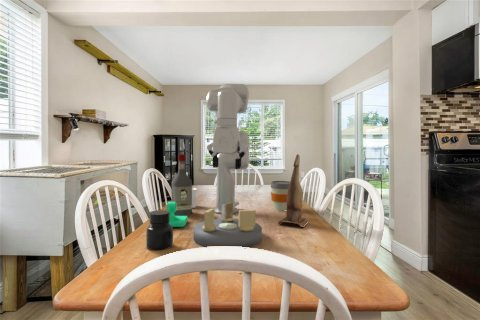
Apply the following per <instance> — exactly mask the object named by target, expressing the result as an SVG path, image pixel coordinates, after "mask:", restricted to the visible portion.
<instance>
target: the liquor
mask: <svg viewBox="0 0 480 320" xmlns="http://www.w3.org/2000/svg"><path fill="white" fill-rule="evenodd" d="M177 155H178V156H177V160H178V168H177V169H178V170H177V174H176V175H175V176H174V177H173V178H172V180H171V202H176V204H177V208H176V212H174V215H175V216H190V215H191V214H192V212H193V208H192V188H193V182H192V179H191V178H190V177H189V176H188V174H186V172H187V171H186V159H187V158H186V153H185V154H184V153H181V154H179V153H178V154H177Z"/></svg>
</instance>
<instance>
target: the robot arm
mask: <svg viewBox="0 0 480 320" xmlns="http://www.w3.org/2000/svg"><path fill="white" fill-rule="evenodd" d="M249 95H250V93H249V87H248V86H247V85H246V84H243V83H223V84H222V85H220V87H218V88H215V89H211V90H209V91H208V93H207V95H206V99H205V104H206V109H207V110H208V111H209V112H212V113H214V112H215V113H214V114H215V116H216V120H215V121H214V125H216V127H214V132H213V139H212V143H210V144H208V145H207V146H206V149H207V151H208V153H209V155H210V157H211V158H212V168H216V207H214V208H213V209H214V213H217V214H221V215H222V204H226V203H229V202H233V214H235V213H238V208H237V206H239V205H240V202H239V201H236V199H235V197H236V178H235V176H234V174H233V173H232V172H231V171H233V170H238V171H240V170H241V171H242V170H246V169H248V168H249V164H250V147H249V146H250V142H249V141H250V140H249V135H248V133H247V132H245V131H242V130H241V131H240V129H239V127H238V114H245V113H246V112H247V110H248V105H249V104H248V103H249Z"/></svg>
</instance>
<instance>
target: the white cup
mask: <svg viewBox="0 0 480 320" xmlns="http://www.w3.org/2000/svg"><path fill="white" fill-rule="evenodd" d="M197 199H198V188H195V187H192V209H193V208H197Z"/></svg>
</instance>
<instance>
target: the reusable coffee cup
mask: <svg viewBox="0 0 480 320" xmlns="http://www.w3.org/2000/svg"><path fill="white" fill-rule="evenodd" d="M289 184H290V180H289V181H288V180H287V181H286V180H273V181H271V182H270V190H271V191H270V196H271V201H272V209H273V210H274V211H276V210H279V211H278V212H285V211H284V210H287V192H288V188H289Z"/></svg>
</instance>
